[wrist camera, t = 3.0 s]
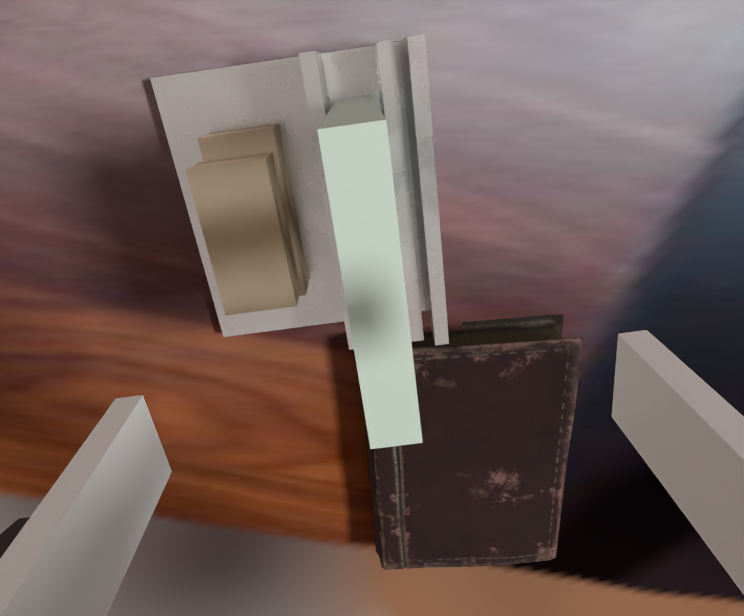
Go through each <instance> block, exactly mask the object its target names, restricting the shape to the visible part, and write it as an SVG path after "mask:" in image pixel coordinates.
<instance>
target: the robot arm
mask: <svg viewBox="0 0 744 616" xmlns="http://www.w3.org/2000/svg"><path fill="white" fill-rule="evenodd" d="M612 418H613V419H614V420H615V422H616V423H617V424H618V426H619V427H620V428H621V430H622V431H623V432H624V434H625V435H626V436H627V438H628V439H629V440H630V442H631V443H632V445H633V446H634V447H635V449H636V450H637V451H638V453H639V454H640V455H641V457H642V458H643V459H644V461H645V462H646V463H647V465H648V466H649V467H650V469H651V470H652V471H653V473H654V474H655V476H656V477H657V478H658V480H659V481H660V482H661V484H662V485H663V486H664V488H665V489H666V490H667V492H668V493H669V494H670V496H671V497H672V498H673V500H674V501H675V503H676V504H677V505H678V507H679V508H680V509H681V511H682V512H683V513H684V515H685V516H686V517H687V519H688V520H689V521H690V523H691V524H692V525H693V527H694V528H695V530H696V531H697V532H698V534H699V535H700V536H701V538H702V539H703V540H704V542H705V543H706V544H707V546H708V547H709V548H710V550H711V551H712V552H713V554H714V555H715V556H716V558H717V559H718V561H719V562H720V563H721V565H722V566H723V567H724V569H725V570H726V571H727V573H728V574H729V575H730V577H731V578H732V579H733V581H734V582H735V583H736V585H737V586H738V588H739V589H740V590H741V592H742V593H743V594H744V417H743V416H742V415H741V414H740V413H739V412H738V411H737V410H736V409H734V408H733V407H732V406H731V405H730V404H729V403H728V402H727V401H726V400H724V399H723V398H722V397H721V396H720V395H719V394H718V393H717V392H715V391H714V390H713V389H712V388H711V387H710V386H709V385H708V384H706V383H705V382H704V381H703V380H702V379H701V378H700V377H699V376H698V375H696V374H695V373H694V372H693V371H692V370H691V369H690V368H689V367H687V366H686V365H685V364H684V363H683V362H682V361H681V360H680V359H679V358H677V357H676V356H675V355H674V354H673V353H672V352H671V351H670V350H668V349H667V348H666V347H665V346H664V345H663V344H662V343H661V342H659V341H658V340H657V339H656V338H655V337H654V336H653V335H652V334H651V333H649V332H648V331H647V330H644V331H636V332H629V333H621V334H618V344H617V357H616V369H615V382H614V394H613V407H612ZM171 472H172V471H171V468H170V465H169V463H168V460H167V458H166V455H165V452H164V450H163V447H162V444H161V442H160V439H159V436H158V434H157V431H156V429H155V426H154V423H153V421H152V418H151V415H150V413H149V410H148V408H147V405H146V402H145V400H144V397H143V395H140V396H132V397H124V398H116V399H115V400H114V402H113V403H112V404H111V406H110V407H109V409H108V410H107V411H106V413H105V414H104V416H103V417H102V418H101V420H100V421H99V422H98V424H97V425H96V427H95V428H94V429H93V431H92V432H91V434H90V435H89V436H88V438H87V439H86V441H85V442H84V443H83V445H82V446H81V447H80V449H79V450H78V452H77V453H76V454H75V456H74V457H73V459H72V460H71V461H70V463H69V464H68V465H67V467H66V468H65V470H64V471H63V472H62V474H61V475H60V477H59V478H58V479H57V481H56V482H55V483H54V485H53V486H52V488H51V489H50V490H49V492H48V493H47V495H46V496H45V497H44V499H43V500H42V502H41V503H40V504H39V506H38V507H37V508H36V510H35V511H34V513H33V514H32V515H31V517H29V518H21V519H18V520H17V521H16V522H14V523H13V524H12V525H11V526H10V527H9V528H7V529H6V530H5V531H4V532H3V533H2V534H0V616H107V614H108V612H109V609H110V607H111V605H112V603H113V600H114V598H115V596H116V594H117V592H118V589H119V587H120V585H121V583H122V580H123V578H124V576H125V574H126V572H127V569H128V567H129V565H130V563H131V561H132V558H133V556H134V554H135V552H136V549H137V547H138V545H139V543H140V541H141V538H142V536H143V534H144V532H145V530H146V527H147V525H148V523H149V521H150V519H151V516H152V514H153V512H154V510H155V507H156V505H157V503H158V501H159V499H160V496H161V494H162V492H163V490H164V488H165V485H166V483H167V481H168V479H169V476H170V474H171Z"/></svg>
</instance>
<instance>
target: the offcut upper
mask: <svg viewBox="0 0 744 616" xmlns="http://www.w3.org/2000/svg"><path fill="white" fill-rule="evenodd" d="M186 174H187V178H188V181H189V185H190V189H191V192H192V196H193V199H194V203H195V207H196V210H197V214H198V217H199V221H200V225H201V228H202V232H203V236H204V239H205V243H206V246H207V250H208V254H209V257H210V261H211V264H212V268H213V272H214V275H215V279H216V283H217V286H218V290H219V293H220V297H221V301H222V304H223V308H224V311H225V315H233V314H241V313H248V312H256V311H264V310H271V309H279V308H286V307H294V306H297V303H298V299H299V295H300V291H301V288H300V283H299V278H298V274H297V269H296V264H295V259H294V254H293V249H292V244H291V239H290V234H289V230H288V225H287V220H286V215H285V210H284V205H283V200H282V195H281V190H280V186H279V181H278V176H277V171H276V166H275V161H274V156H273V152H269V153H262V154H254V155H247V156H240V157H233V158H226V159H219V160H212V161H205V162H199V163H197V164H195V165H193V166H192V167H190V168H188V169H187V170H186Z"/></svg>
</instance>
